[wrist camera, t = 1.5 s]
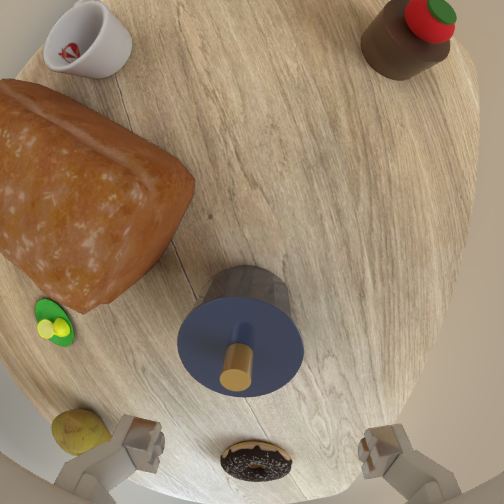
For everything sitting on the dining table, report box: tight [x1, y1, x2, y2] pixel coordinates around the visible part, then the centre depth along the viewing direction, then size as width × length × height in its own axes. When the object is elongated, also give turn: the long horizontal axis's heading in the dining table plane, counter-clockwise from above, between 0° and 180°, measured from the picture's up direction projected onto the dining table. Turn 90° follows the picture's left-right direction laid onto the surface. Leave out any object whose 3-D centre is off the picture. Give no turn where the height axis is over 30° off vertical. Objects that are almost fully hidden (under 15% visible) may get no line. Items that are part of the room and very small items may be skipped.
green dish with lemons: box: [35, 299, 74, 347], centre depth 33 cm, size 8×8×3 cm
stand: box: [361, 0, 450, 80], centre depth 19 cm, size 7×7×7 cm
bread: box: [0, 79, 195, 315], centre depth 20 cm, size 14×26×16 cm, turn 57°
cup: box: [43, 0, 132, 79], centre depth 19 cm, size 11×8×8 cm
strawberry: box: [405, 0, 456, 43], centre depth 13 cm, size 4×4×5 cm
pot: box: [192, 266, 298, 326], centre depth 28 cm, size 10×10×8 cm
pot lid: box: [177, 294, 304, 397], centre depth 22 cm, size 11×11×5 cm
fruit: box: [52, 409, 112, 456], centre depth 35 cm, size 11×12×10 cm
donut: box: [220, 441, 292, 482], centre depth 38 cm, size 11×12×4 cm
